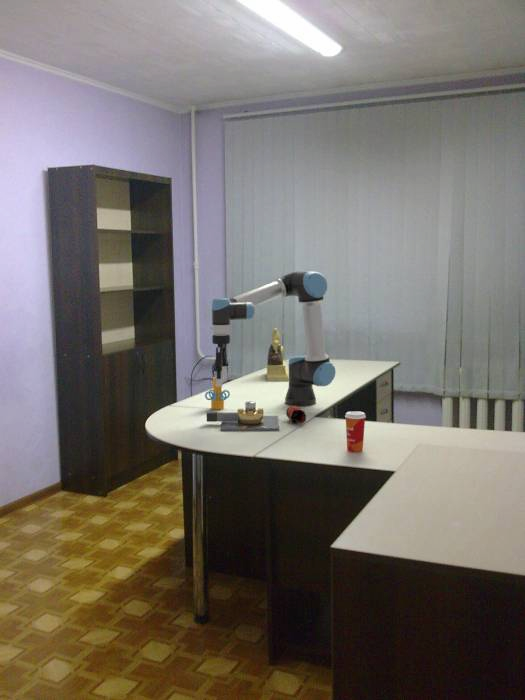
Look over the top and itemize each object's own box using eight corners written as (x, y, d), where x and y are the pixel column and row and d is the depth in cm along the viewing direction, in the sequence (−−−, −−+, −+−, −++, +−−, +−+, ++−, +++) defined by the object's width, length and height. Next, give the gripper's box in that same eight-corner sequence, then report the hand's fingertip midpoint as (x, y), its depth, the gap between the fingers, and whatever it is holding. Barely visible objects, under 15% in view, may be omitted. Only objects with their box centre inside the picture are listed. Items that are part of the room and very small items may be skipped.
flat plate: (277, 417, 318) (277, 396, 317) (279, 431, 293) (279, 408, 292) (223, 418, 318) (223, 397, 316) (220, 431, 293) (220, 408, 292)
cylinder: (225, 411, 332) (224, 379, 330) (203, 410, 334) (203, 379, 332) (231, 406, 343) (231, 375, 342) (210, 405, 345) (210, 374, 344)
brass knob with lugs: (263, 418, 311) (263, 406, 310) (263, 424, 300) (263, 411, 300) (207, 418, 311) (207, 406, 310) (205, 424, 300) (205, 412, 299)
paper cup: (342, 447, 267) (342, 411, 265) (362, 447, 268) (363, 410, 266) (346, 453, 259) (347, 415, 257) (367, 452, 260) (368, 415, 258)
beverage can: (300, 418, 317) (300, 403, 316) (306, 424, 305) (306, 409, 305) (284, 419, 316) (284, 404, 315) (290, 425, 304) (290, 410, 303)
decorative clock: (289, 381, 414) (289, 329, 410) (266, 381, 414) (266, 330, 410) (288, 373, 442) (288, 325, 438) (267, 373, 442) (267, 325, 438)
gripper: (216, 331, 318) (217, 378, 321) (207, 337, 294) (208, 388, 296) (233, 331, 318) (233, 379, 320) (225, 337, 293) (226, 388, 296)
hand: (221, 383), depth 308 cm, fingers open, 13 cm apart
